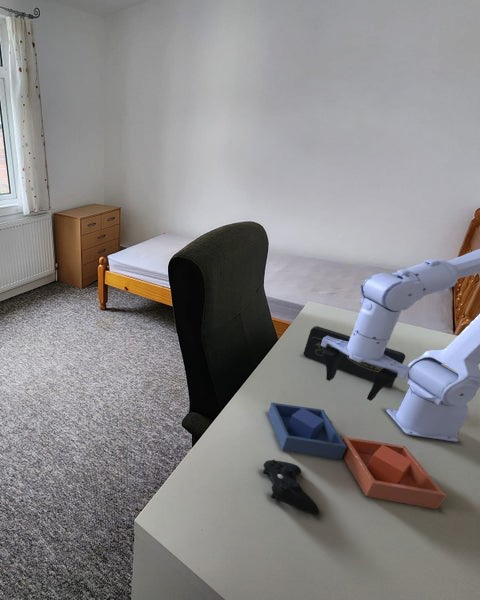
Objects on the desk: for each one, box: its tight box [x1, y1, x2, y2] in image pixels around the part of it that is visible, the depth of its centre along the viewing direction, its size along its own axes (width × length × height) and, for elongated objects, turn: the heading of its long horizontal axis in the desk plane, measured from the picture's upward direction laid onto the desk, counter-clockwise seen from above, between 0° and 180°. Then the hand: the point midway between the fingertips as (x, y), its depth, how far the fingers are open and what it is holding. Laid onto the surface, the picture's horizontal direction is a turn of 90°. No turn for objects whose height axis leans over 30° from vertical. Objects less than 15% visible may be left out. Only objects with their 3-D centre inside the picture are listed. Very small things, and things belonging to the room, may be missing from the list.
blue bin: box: [267, 402, 346, 460], centre depth 74 cm, size 11×11×4 cm
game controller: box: [262, 459, 320, 515], centre depth 62 cm, size 10×5×7 cm
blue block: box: [287, 408, 324, 440], centre depth 73 cm, size 4×4×4 cm
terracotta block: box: [367, 445, 412, 484], centre depth 64 cm, size 4×4×4 cm
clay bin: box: [341, 436, 447, 510], centre depth 64 cm, size 11×11×4 cm
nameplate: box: [302, 325, 406, 388], centre depth 95 cm, size 21×2×10 cm, turn 41°
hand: (349, 388), depth 73 cm, fingers open, 7 cm apart
